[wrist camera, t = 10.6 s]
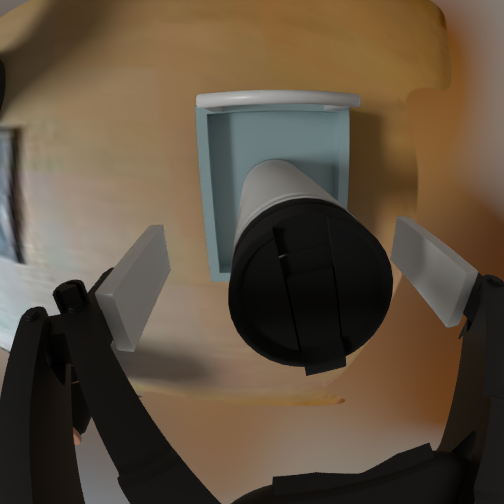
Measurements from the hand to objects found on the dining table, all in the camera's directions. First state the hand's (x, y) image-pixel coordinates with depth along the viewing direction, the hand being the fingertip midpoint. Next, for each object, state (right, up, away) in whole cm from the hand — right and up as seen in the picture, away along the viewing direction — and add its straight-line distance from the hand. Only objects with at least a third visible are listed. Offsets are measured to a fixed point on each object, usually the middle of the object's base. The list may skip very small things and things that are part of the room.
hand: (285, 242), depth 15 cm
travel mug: (0, +6, +13) cm, 14 cm away
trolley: (+1, +7, +16) cm, 18 cm away
